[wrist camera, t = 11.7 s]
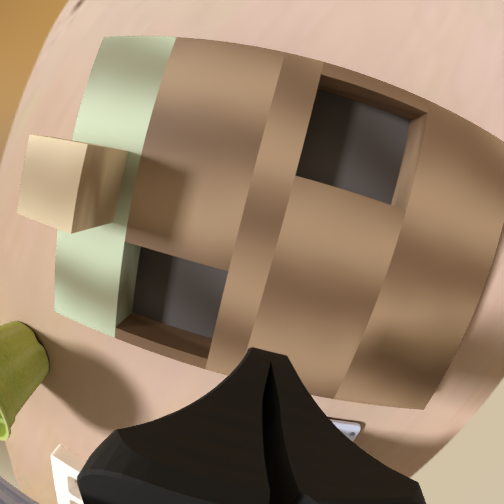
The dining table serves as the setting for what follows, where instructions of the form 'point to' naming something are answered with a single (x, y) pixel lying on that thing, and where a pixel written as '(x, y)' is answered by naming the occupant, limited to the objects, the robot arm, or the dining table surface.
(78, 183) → the maple block
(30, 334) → the plant pot
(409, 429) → the dining table surface
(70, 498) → the holder
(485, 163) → the trap board
